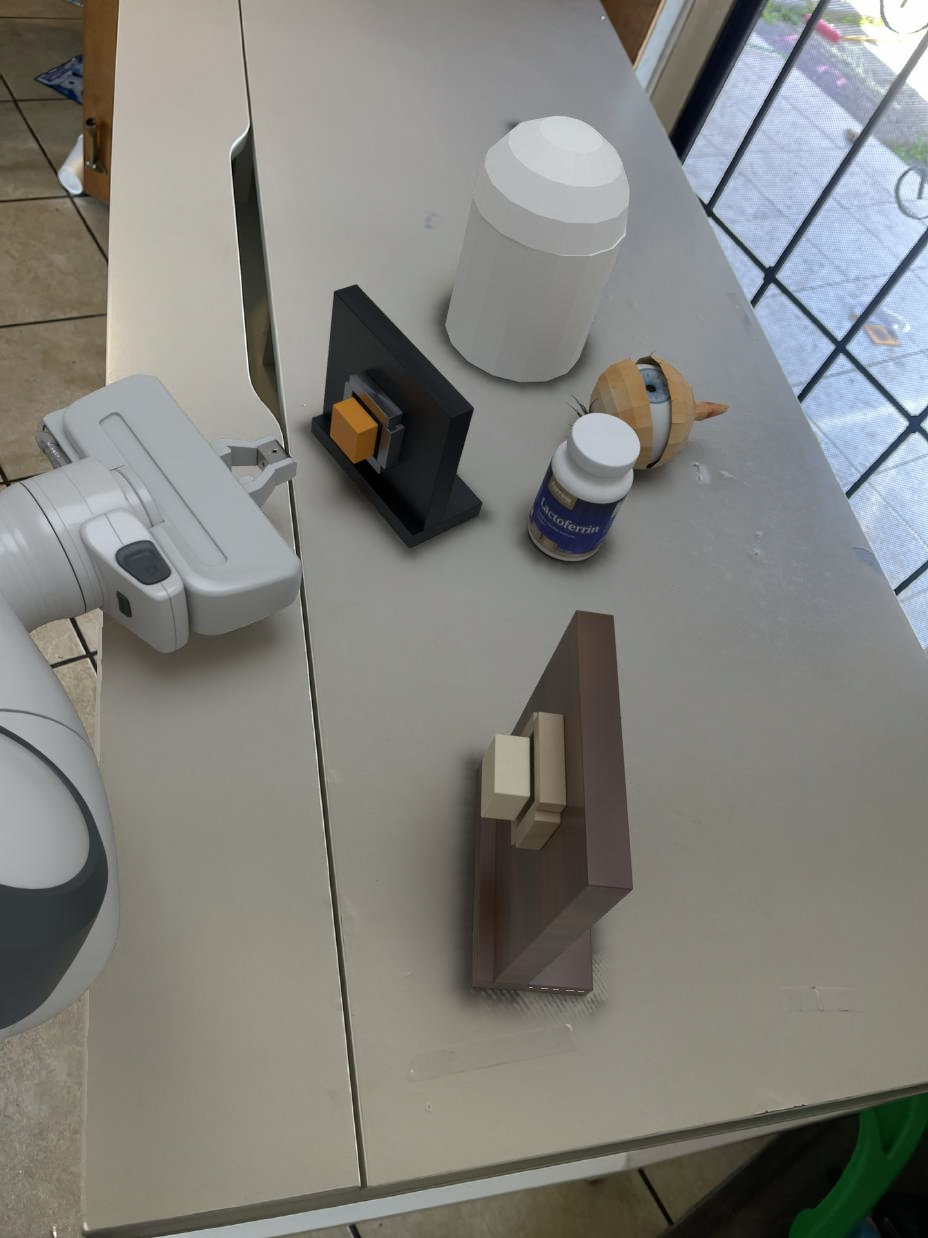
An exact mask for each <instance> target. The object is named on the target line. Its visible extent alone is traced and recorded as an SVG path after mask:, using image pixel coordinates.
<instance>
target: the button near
mask: <svg viewBox="0 0 928 1238" xmlns="http://www.w3.org/2000/svg"><path fill="white" fill-rule="evenodd" d="M481 761H482V790H481V817H486V818H495V819H505V820H515V819H516V818H517V816H518V815H519V813H520V811H521V810H522V808H523V807H524V805H525V804H526V802H527V801H528V799H529V797H530V738H527V737H519V736H511V734H502V733H495V734H494V736H493V738H492V740H491V742H490V744H489V746H488V748H487V750H486V752H485V755H484V757H483V758H482V759H481Z"/></svg>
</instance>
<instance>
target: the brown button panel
mask: <svg viewBox="0 0 928 1238" xmlns="http://www.w3.org/2000/svg"><path fill="white" fill-rule="evenodd" d="M615 627H616V626H615V615H614V614H608V613H601V612H594V611H587V610H580V609H576V610H575V612H574V613H573V615H572V617H571V619H570V621H569V623H568V624H567V627H566V629H565V630H564V632H563V635H562V636H561V638H560V640H559V642H558V643H557V646H556V648H555V649H554V651H553V653H552V655H551V657H550V659H549V660H548V663H547V665H546V666H545V669H543V670H544V671H543V673H542V674H541V676H540V678H539V680H538V682H537V684H536V686H535V687H534V689H533V691H532V693H531V695H530V697H529V699H528V701H527V703H526V705H525V707H524V708H523V710H522V712H521V714H520V716H519V717H518V720H517V722H516V724H515V726H514V728H513V729H512V732H511V733H510V735H511V736H519V737H527V738H530V797H529V799H528V801H527V802H526V804H525V805H524V807H523V808H522V810H521V811H520V813H519V815H518V816H517V818H516V819H515V820H505V819H495V818H486V817H481V790H482V760H480V762H479V765H478V766H477V768H476V769H477V772H476V773H477V774H476V803H475V804H476V807H475V808H476V809H475V841H474V842H475V843H474V844H475V845H474V846H475V848H474V877H473V878H474V883H473V914H472V915H473V918H472V919H473V920H472V951H471V954H472V955H471V987H473V988H483V989H484V988H485V989H496V990H508V991H509V990H510V991H521V992H531V993H532V992H533V993H534V992H535V993H543V994H544V993H546V994H558V995H570V996H571V995H572V996H582V997H583V996H584V997H586V996H588V995H589V994H590V993H591V992H593V991H594V978H593V977H594V976H593V974H594V973H593V955H592V952H593V951H592V933H591V930H592V929H591V928H592V927H593V926H594V925H595V924H596V923H597V922H598V921H600V920H601V919H602V918H603V917H604V916H606V914H608V913H609V912H610V911H611V910H612V909H613V908H614V907H615V906H617V905H618V903H620V902H621V901H622V900H623V899H624V898H626V897H627V896H628V895H629V894H630V893H631V892H632V891H633V890H634V883H633V880H634V879H633V868H632V853H631V841H630V840H631V838H630V825H629V811H628V799H627V798H628V796H627V783H626V769H625V754H624V742H623V728H622V727H623V726H622V712H621V700H620V683H619V671H618V670H619V669H618V657H617V656H618V655H617V642H616V628H615ZM529 987H533V988H529ZM541 988H548V989H541ZM553 989H559V990H553ZM566 990H574V991H566ZM578 991H584V992H578Z"/></svg>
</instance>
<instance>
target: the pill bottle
mask: <svg viewBox="0 0 928 1238" xmlns="http://www.w3.org/2000/svg"><path fill="white" fill-rule="evenodd" d="M572 425H573V426H571V430H570V431H569V433H568V437H566V439H565V440H564V441H562V443H560V444H559V446H558V447H556V449H555V450H554V452H553V454H552V456H551V459H550V462H549V464H548V467H547V469H546V472H545V474H544V477H543V479H542V481H541V484H540V486H539V488H538V491H537V493H536V495H535V499H534V501H533V503H532V506H531V509H530V511H529V514H528V517H527V530H528V534H529V536H530V537H531V540H532V542H533V543H534V544H535V545H536V546H537V548H538V549H539V550H541V552H543V553H545V554H547V555H548V556H550V557H552V558H554V559H557V560H561V561H565V562H579V561H583V560H586V559H588V558H590V557H592V556H593V555H594V554H595V553H597V552H598V550H599V549H600V547H601V545H602V544H603V542H604V540H605V538H606V536H607V534H608V533H609V530H610V528H611V526H612V525H613V523H614V521H615V519H616V518H617V515H618V514H619V511H620V509H621V507H622V506H623V504H624V502H625V499H626V498H627V496H628V494H629V493H630V490H631V488H632V485H633V481H634V469H632V468H633V466H634V464H635V462H636V460H637V458H638V456H639V453H640V442H639V439H638V437H637V435H636V433H635V432H634V430H633V429H632V428H631V427H630V426H629V425H628V424H627V423H625V422H624V421H622V420H621V419H619V418H617V417H614V416H612V415H608V414H604V413H591V414H587V415H585V414H583V415H582V417H578V419H576V421H575V422H574V423H573V424H572Z"/></svg>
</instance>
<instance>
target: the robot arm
mask: <svg viewBox="0 0 928 1238" xmlns="http://www.w3.org/2000/svg"><path fill="white" fill-rule="evenodd" d="M35 443H36V445H37V447H38V448H39V451H41V453H42V454H43V455H45V456H46V457H47V459H48V460H49V462H50V464H51V467H52V468H53V469H51V470H48V471H45V472H42V473H40V474H37V475H35V476H32V477H28V478H27V479H24V480H21V481H18V482H15V483H13V484H10V485H9V486H7V487H5V488H4V489H3V490H2V491H0V1046H1V1045H3V1043H4V1041H5V1040H6V1039H9V1038H11V1037H14V1036H17V1035H21V1034H23V1033H25V1032H27V1031H31V1030H33V1029H34V1028H36V1027H39V1026H41V1025H42V1024H45V1023H47V1022H49V1021H51V1020H52V1019H53V1018H55V1017H57V1016H58V1015H60V1014H61V1013H62V1012H64V1011H65V1010H67V1009H68V1008H70V1006H72V1005H73V1004H74V1003H76V1002H77V1001H78V1000H80V998H82V997H83V996H84V995H85V994H86V992H88V990H89V989H90V988H91V987H92V986H93V984H94V983H95V982H96V981H97V979H98V978H99V977H100V975H102V973H103V971H104V970H105V968H106V966H107V964H108V963H109V961H110V959H111V957H112V955H113V953H114V952H113V951H114V950H115V947H116V944H117V943H116V942H117V941H118V937H119V932H120V927H121V925H120V924H121V894H120V893H121V892H120V891H121V890H120V889H121V888H120V876H119V873H120V872H119V862H118V852H117V842H116V836H115V829H114V822H113V817H112V813H111V808H110V802H109V799H108V794H107V791H106V787H105V784H104V780H103V777H102V772H101V770H100V765H99V763H98V759H97V755H96V753H95V750H94V747H93V744H92V742H91V739H90V737H89V734H88V732H87V730H86V729H87V728H86V727H85V726H84V722H83V721H82V719H81V717H80V715H79V712H78V710H77V709H76V706H75V705H74V703H73V701H72V699H71V697H70V695H69V694H68V692H67V691H66V688H65V687H64V685H63V683H62V681H61V680H60V678H59V677H58V675H57V674H56V672H55V670H54V668H53V667H52V666H51V665H50V663H49V661H48V659H47V658H46V657H45V655H44V653H43V652H42V651H41V649H40V648H39V646H38V645H37V643H36V641H35V640H34V639H33V637H32V636H31V633H32V632H33V631H35V630H37V629H38V628H41V627H43V626H44V625H47V624H50V623H53V622H56V621H61V620H68V619H73V618H77V617H81V616H84V615H85V614H87V613H90V612H92V611H94V610H97V609H99V610H100V611H101V612H102V613H104V614H105V615H107V616H109V617H110V618H112V619H113V620H114V621H116V622H118V623H119V624H121V625H122V626H124V627H125V628H127V629H128V630H129V631H130V632H132V633H133V634H134V635H136V636H137V637H138V638H140V639H141V640H142V641H144V642H145V643H146V644H148V645H149V646H150V647H152V648H153V649H155V650H156V651H158V652H160V653H163V654H169V653H173V652H175V651H177V650H179V649H181V648H182V647H185V645H187V643H188V642H189V637H190V630H191V631H193V632H194V633H197V634H199V635H205V636H216V635H223V634H226V633H230V632H233V631H235V630H239V629H241V628H244V627H247V626H249V625H251V624H254V623H257V622H259V621H261V620H264V619H266V618H268V617H270V616H272V615H275V614H277V613H279V612H281V611H284V610H285V609H287V608H288V607H290V606H291V605H293V603H294V602H295V601H296V599H297V597H298V595H299V592H300V589H301V584H302V573H303V563H302V561H301V559H300V558H299V556H298V555H297V553H296V552H295V551H294V550H293V549H292V547H291V546H290V545H289V543H288V542H287V541H286V539H285V538H284V537H283V536H282V535H281V533H280V532H279V531H278V529H277V528H276V527H275V525H274V524H273V523H272V522H271V521H270V519H269V518H268V516H267V515H266V514H265V513H264V511H263V510H262V508H263V506H264V504H266V502H267V500H268V499H269V497H270V496H271V495H272V493H273V492H274V491H275V489H276V487H277V486H280V485H282V484H283V483H284V484H285V483H287V482H289V481H291V480H293V479H294V478H295V477H296V475H297V466H298V464H297V462H296V461H295V460H294V458H293V457H292V456H291V455H290V454H289V453H288V451H287V450H286V449H285V448H284V446H283V445H282V444H281V443H280V442H279V440H278V439H277V438H276V437H275V436H274V435H273V434H271V435H270V434H269V435H267V436H264V437H262V438H259V439H257V440H254V441H252V440H247V439H246V440H245V439H236V438H235V439H234V438H220V439H216V440H214V441H211V442H209V441H208V440H207V438H205V436H204V434H202V432H201V431H200V430H199V428H198V427H197V426H196V425H195V423H194V422H193V421H192V420H191V418H190V417H189V416H188V414H187V413H186V412H185V410H184V409H183V408H182V407H181V406H180V404H179V403H178V402H177V400H176V399H175V397H174V396H173V395H172V394H171V392H170V391H169V390H168V388H167V387H166V386H165V385H164V384H163V382H162V381H161V379H159V377H157V376H155V375H148V374H141V373H135V374H132V375H129V376H127V377H124V378H121V379H119V380H116V381H114V382H112V383H109V384H107V385H105V386H103V387H101V388H98V389H96V390H94V391H92V392H90V393H88V394H86V395H84V396H82V397H80V398H78V399H77V400H75V401H73V402H72V403H70V404H69V405H68V406H67V407H63V408H61V409H57V410H54V411H51V412H49V413H47V414H45V416H43V418H42V420H41V421H40V423H39V424H38V427H37V434H36V435H35ZM233 467H258V469H259V470H260V471H261V473H259V475H258V476H257V478H256V479H255V478H254V477H253V476H252V475H251V474H248V475H245V476H242V477H240V478H237V477H236V475H235V474H234V473H233V472H232V471H233Z"/></svg>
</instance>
